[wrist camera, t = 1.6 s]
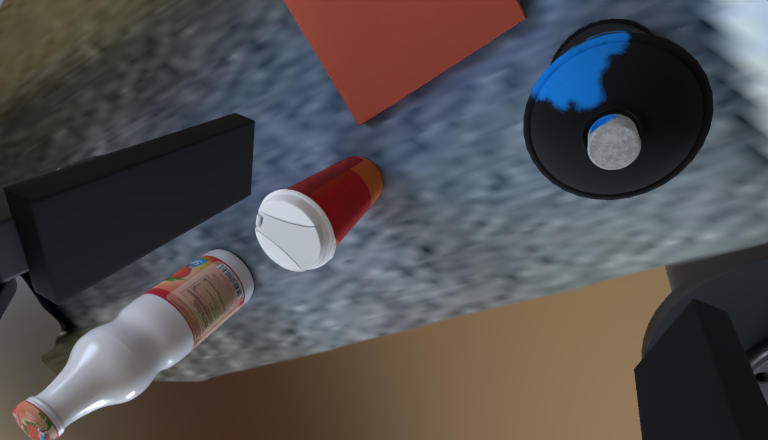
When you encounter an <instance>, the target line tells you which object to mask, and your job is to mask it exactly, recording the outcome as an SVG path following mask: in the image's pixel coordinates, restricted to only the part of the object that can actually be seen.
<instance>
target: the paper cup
mask: <svg viewBox="0 0 768 440" xmlns="http://www.w3.org/2000/svg"><path fill="white" fill-rule="evenodd" d="M382 187H383V180H382V176H381V173H380V171H379V169H378V168H377V167H376V165H375V164H374V163H372V162H371V161H370V160H368V159H366V158H364V157H360V156H353V157H349V158H347V159H344V160H342V161H340V162H338V163H336V164H334V165H332V166H330V167H328V168H326V169H324V170H322V171H320V172H318V173H316V174H314V175H312V176H310V177H309V178H307V179H305V180H303V181H301V182H299V183H297V184H295V185H293V186H291V187H289V188H287V189H280V190H276V191H274V192H272V193H270V194H269V195H267V196H266V197H265V199H264V200H263V202H262V204H261V206H260V208H259V212H258V214H257V219H256V225H257V227H256V228H255V232H256V236H257V239H258V241H259V243H260V245H261V247H262V249H263V250H264V251H265V253H266V254H267V255H268V256H269V257H270V258H271V259H272V260H273V261H274V262H275V263H277V264H278V265H280V266H282V267H284V268H286V269H289V270H292V271H305V270H307V269H315V268H318V267H321V266H322V265H324V264H325V263H326V262H327V261H329V260H330V259H331V258H332V257H333V255H334V253H335V249H336V246H337V245H338V244H339V242H340V241H341V240H342V239H343V238H344V237H345V236H346V234H347V233H348V232H349V231H350V230H351V229H352V228H353V226H354V225H355V224H356V223H357V222H358V221H359V219H360V218H361V217H362V216H363V215H364V214H365V213H366V211H367V210H368V209H369V208H370V207H371V206H372V204H373V203H374V202H375V201H376V199H377V198H378V197H379V195H380V193H381V191H382Z"/></svg>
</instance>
